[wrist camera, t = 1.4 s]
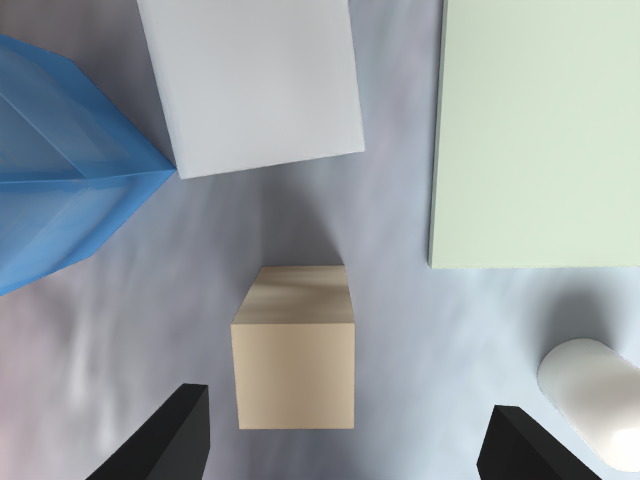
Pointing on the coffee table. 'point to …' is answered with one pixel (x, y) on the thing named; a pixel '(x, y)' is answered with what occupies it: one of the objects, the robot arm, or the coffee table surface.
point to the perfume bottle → (63, 165)
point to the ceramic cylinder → (596, 398)
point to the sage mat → (537, 135)
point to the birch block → (295, 350)
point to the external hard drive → (254, 81)
